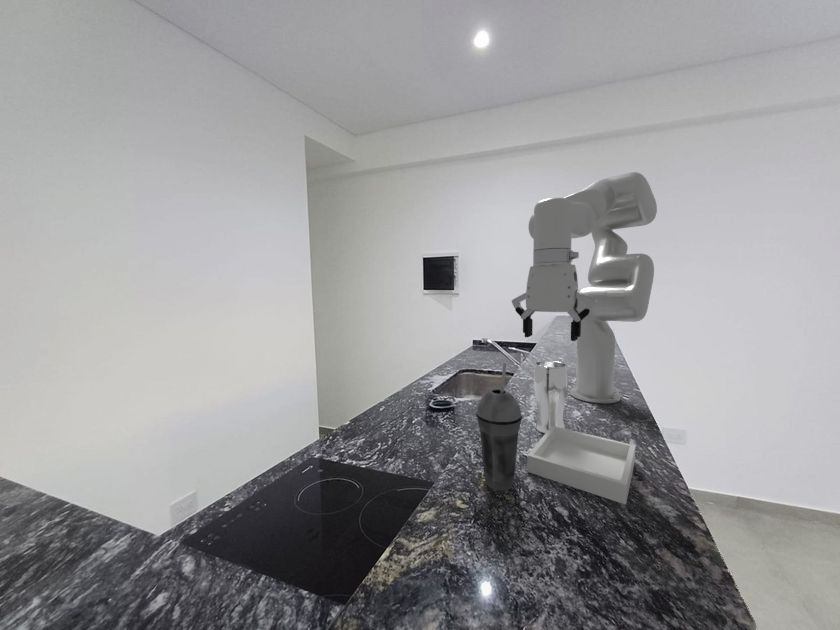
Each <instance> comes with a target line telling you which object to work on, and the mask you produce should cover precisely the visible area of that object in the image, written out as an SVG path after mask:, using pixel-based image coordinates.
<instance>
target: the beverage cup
mask: <svg viewBox="0 0 840 630" xmlns="http://www.w3.org/2000/svg"><path fill="white" fill-rule="evenodd" d="M506 370H507V362H503V363H502V371H501V379H500V380H501V381H500V382H501V384H500V389H499V388H498V389H492V390H489V391H487V392H485V393H484V394H483V395H482V397H481V398H480V400H479V401H478V404H477V410H476V413H475V415H476V418H477V423H478V428H479V434H480V445H481V455H482V466H483V474H484V482H485V484H486V486H487V487H489V488H490V489H492V490H494V491H498V492H499V491H500V492H501V491H502V492H504V491H508V490H510V489H512V487H513V485H514V478H515V474H516V473H515V472H516V463H517V462H516V460H517V451H518V440H519V431H520V427H521V423H522V419H523V415H522V411H521V410H522V409H521V407H520V404H519V401H518V400H517V398H516V397H515V396H514V395H513V394H512V393H510V392H508V391H506V390H505V382H506Z"/></svg>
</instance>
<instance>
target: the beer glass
mask: <svg viewBox="0 0 840 630" xmlns="http://www.w3.org/2000/svg"><path fill="white" fill-rule="evenodd" d="M568 379H569V377H568V364H566V362H562V361H555V360H538V361H536V362H535V363H534V372H533V389H534V396H535V402H536V407H537V408H536V409H537V418H536V423H535V429H536V430H537V431H538V432H540V433H542V434H544V435H545V433H546V432H547V431H548V430H549V429H550V427H551V426H555V427H560V428H564V429H566V428H565V425H564V424H565V423H564V409H565V405H566V401H567V395H568V385H569V384H568V383H569V382H568V381H569V380H568Z"/></svg>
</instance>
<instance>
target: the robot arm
mask: <svg viewBox="0 0 840 630" xmlns="http://www.w3.org/2000/svg"><path fill="white" fill-rule="evenodd" d="M657 210H658V205H657V201H656V198H655V195H654V194H653V191H652V188H651V185H650V184H649V181H648V180H647V179H646V177H645V176H644V175H643V174H642V173H640V172H637V171H632V172H627V173H624V174H620V175H616V176H612V177H605V178H602V179H599V180H596V181H594V182H593V183H591V184H590V185H589V184H588V186H586V187H584V188H583V189H582V190H579V191H577V192H574V193H572V194H569V195H567V196H565V197H549V198H546V199H542V200H540V201H538V202H536V204H535V206H534V208H533V213H532V215H531V216H530V218H529V220H528V233H529V235H530V237H531V238H532V239H533V253H532V255H533V256H532V257H533V258H532V263H533V264H532V266H529V270H528V277H527V282H526V291H525V292H524V293H522V294H520V295H518V296H517V297H514V298H513V299H511V304H512V307H513V308H514V309H515V312H516V314H518V316H520V319H521V320H522V333H523V334H524V337H525V338H529V337H531V336H533V326H534V325H533V323H534V322H533V318H532V316H533V314H535V312H538V313H539V312H541V313H543V312H546V313H567V314H568V315H569V316H570V317H571V319H572V321H571V322H570V341H571V342H576V376H575V377H576V381H575V382H576V383H575V386H574V387H572V388H571V389H570V390H569V393H570V395H571V396H572V397H573V398H575V399H576V400H577V399H578V400H580V401H584V402H587V403H593V404H604V405H605V404H614V403H618V402H620V400H621V395H620V394H619V392H617V391H615V389H614V388H615V364H616V363H615V361H616V359H615V358H616V357H615V355H616V335H615V333H614V331H613V329H612V328H611V327H610V326H609V324H608V323H607V322H625V323H627V322H628V323H631V322H632V323H633V322H634V323H635V322H640V321H642V320H643V319H644V318H645V317H646V315H647V312H648V308H649V303H650V299H651V294H652V287H653V283H654V277H655V276H654V275H655V264H654V261H653V259H652V257H651V256H650V255H648V254H646V253H645V254H644V253H627V252H628V243H627V242H626V241H625V240H624V238H622V236H620V235H619V234H617V233H616V232H615V231H614V230H621V229H627V228H628V229H629V228H634V227H635V228H636V227H642V226H647V225H649V224H651V223H652V222H653V221H654V220H655V219H656V215H657V214H658V213H657V212H658V211H657ZM589 234H591V237H592V240H593V243H594V251H593V255H592V258H591V262H590V265H589V268H588V274H587V281H588V284H590V286H585V287H583V288H581V289H579V281H578V273H577V272H578V271H577V267H576V264H572V262H573V260H575V259H579V257H580V255H579V254H580V253H579V251H573V250H572V239H578V238H583V237H587V236H588V235H589ZM524 301H525V308H526V309H524V308H523V306H522V305H521V303H522V302H524Z"/></svg>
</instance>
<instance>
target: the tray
mask: <svg viewBox="0 0 840 630" xmlns="http://www.w3.org/2000/svg"><path fill="white" fill-rule="evenodd" d="M564 428H565V427H564ZM564 428H560V427H555V426H551V427H550V429H549V430H548V431H547V432H546V433H545V434H544V435H543V436H542V437H541V438H540V439H539V441H538V442H537V443H536V444H535V446H533V447H532V449H531V450H530V452H529V453H528V454H527V455H526V457H527V458H526V462H527V463H526V464H527V466H526V472H527V473H530V474H534V475H536V476H539V477H541V478H545V479H548V480H551V481H555V482H557V483H560V484H563V485H565V486H566V485H567V486H569V487H572V488H575V489H578V490H581V491H584V492H587V493H589V494H593V495H595V496H599V497H601V498H604V499H607V500H610V501H613V502H617V503H619V504H622V505H627V501H628V498H629V497H628V495H629V494H630V493H629V491H630V488H631V487H630V486H631V482H632V477H633V472H634V467H635V463H636V444H631V443H626V442H623V441H618V440H614V439H610V438H606V437H602V436H597V435H592V434H589V433H585V432H580V431H577V430H572V429H567V428H565V429H564Z"/></svg>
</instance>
